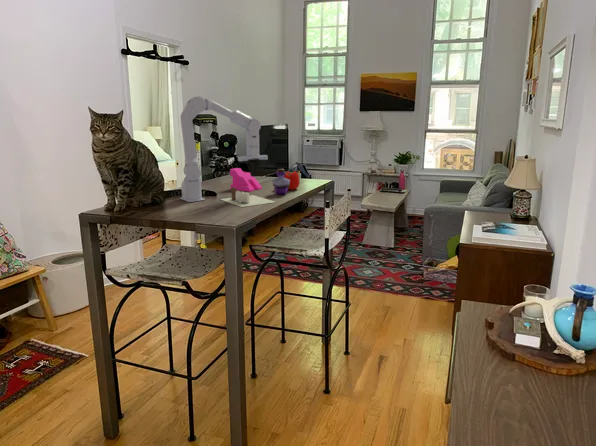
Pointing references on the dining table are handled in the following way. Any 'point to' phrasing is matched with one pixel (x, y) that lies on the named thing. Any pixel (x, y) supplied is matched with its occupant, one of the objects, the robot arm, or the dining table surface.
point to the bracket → (243, 180)
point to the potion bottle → (281, 183)
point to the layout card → (252, 201)
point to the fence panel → (242, 196)
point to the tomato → (292, 180)
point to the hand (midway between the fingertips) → (253, 176)
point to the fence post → (233, 193)
